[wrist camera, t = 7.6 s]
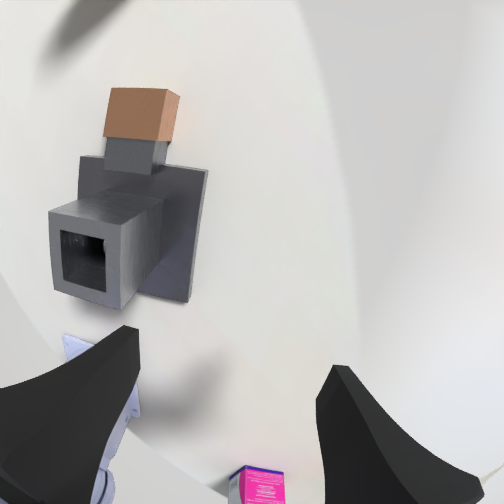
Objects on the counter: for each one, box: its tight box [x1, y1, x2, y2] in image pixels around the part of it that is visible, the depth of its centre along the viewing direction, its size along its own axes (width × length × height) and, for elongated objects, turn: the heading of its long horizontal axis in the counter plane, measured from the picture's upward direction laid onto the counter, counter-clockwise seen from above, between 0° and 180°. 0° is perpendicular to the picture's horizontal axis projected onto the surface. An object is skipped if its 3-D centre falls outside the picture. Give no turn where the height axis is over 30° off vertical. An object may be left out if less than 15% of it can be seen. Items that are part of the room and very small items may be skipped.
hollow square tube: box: [48, 190, 164, 310], centre depth 15 cm, size 4×4×6 cm
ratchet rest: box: [78, 88, 208, 303], centre depth 17 cm, size 14×9×4 cm, turn 169°
